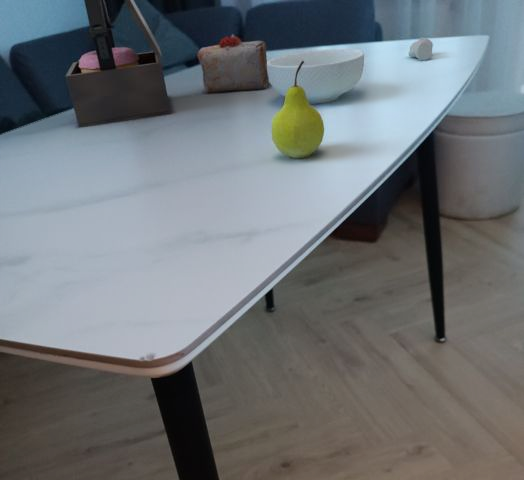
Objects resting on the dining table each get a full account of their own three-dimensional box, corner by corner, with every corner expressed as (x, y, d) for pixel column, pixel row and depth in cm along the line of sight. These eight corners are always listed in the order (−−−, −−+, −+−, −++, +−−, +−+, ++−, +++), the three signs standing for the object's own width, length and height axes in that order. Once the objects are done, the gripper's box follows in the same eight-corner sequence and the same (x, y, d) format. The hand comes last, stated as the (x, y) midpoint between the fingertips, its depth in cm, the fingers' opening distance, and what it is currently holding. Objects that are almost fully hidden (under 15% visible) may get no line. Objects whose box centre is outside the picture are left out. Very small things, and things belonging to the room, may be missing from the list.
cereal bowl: (382, 91, 106) (383, 48, 102) (326, 115, 97) (324, 68, 93) (308, 86, 117) (306, 46, 113) (251, 107, 107) (246, 64, 103)
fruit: (264, 158, 81) (254, 63, 75) (302, 146, 84) (297, 53, 78) (295, 168, 77) (288, 67, 70) (335, 154, 80) (332, 56, 73)
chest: (79, 129, 107) (65, 76, 102) (85, 110, 120) (72, 62, 115) (171, 115, 108) (161, 62, 103) (167, 98, 121) (158, 50, 116)
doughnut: (70, 82, 108) (63, 56, 105) (103, 69, 116) (98, 45, 114) (120, 80, 104) (115, 54, 102) (152, 67, 112) (147, 42, 110)
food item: (199, 96, 119) (191, 42, 114) (208, 87, 126) (201, 35, 120) (266, 91, 117) (260, 35, 111) (272, 82, 123) (267, 29, 117)
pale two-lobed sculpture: (411, 62, 132) (435, 52, 130) (410, 68, 126) (434, 58, 123) (406, 41, 130) (430, 32, 128) (404, 47, 124) (429, 37, 122)
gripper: (97, -78, 88) (131, 81, 101) (104, -72, 107) (132, 60, 120) (46, -72, 87) (87, 87, 100) (62, -67, 107) (94, 66, 119)
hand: (111, 73), depth 110 cm, fingers closed on doughnut, 11 cm apart
